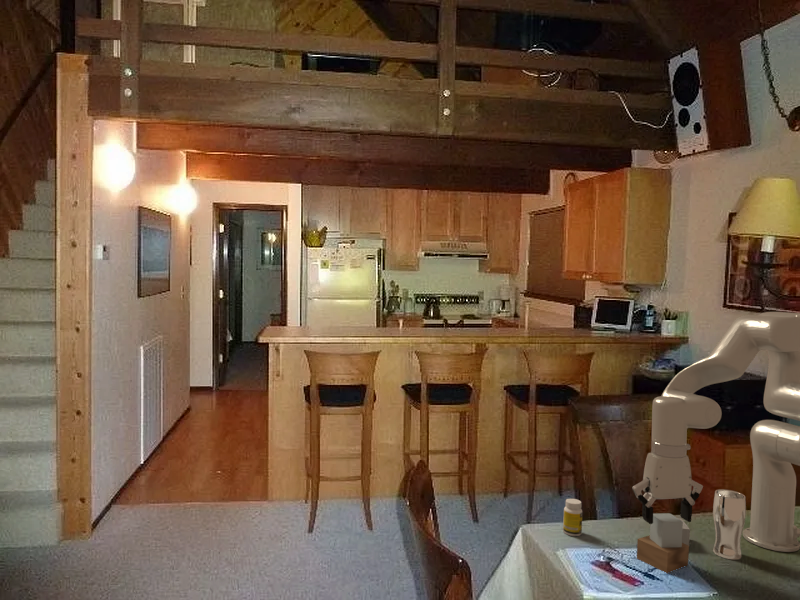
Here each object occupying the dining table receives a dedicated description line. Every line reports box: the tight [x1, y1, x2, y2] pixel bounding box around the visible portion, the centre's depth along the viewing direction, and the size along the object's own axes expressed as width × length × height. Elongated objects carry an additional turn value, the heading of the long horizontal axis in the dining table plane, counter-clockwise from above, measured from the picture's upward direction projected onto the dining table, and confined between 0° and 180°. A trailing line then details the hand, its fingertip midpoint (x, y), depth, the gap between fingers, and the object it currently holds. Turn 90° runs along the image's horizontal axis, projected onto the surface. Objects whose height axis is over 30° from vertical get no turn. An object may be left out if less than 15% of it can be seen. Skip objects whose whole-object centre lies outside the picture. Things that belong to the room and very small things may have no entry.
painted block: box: [649, 512, 683, 548], centre depth 137 cm, size 5×5×6 cm
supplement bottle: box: [562, 498, 583, 537], centre depth 152 cm, size 5×5×8 cm
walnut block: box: [636, 534, 690, 574], centre depth 137 cm, size 8×8×5 cm
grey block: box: [677, 517, 691, 547], centre depth 150 cm, size 7×7×5 cm
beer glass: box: [712, 489, 747, 561], centre depth 143 cm, size 7×7×15 cm
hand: (666, 520), depth 138 cm, fingers open, 9 cm apart
